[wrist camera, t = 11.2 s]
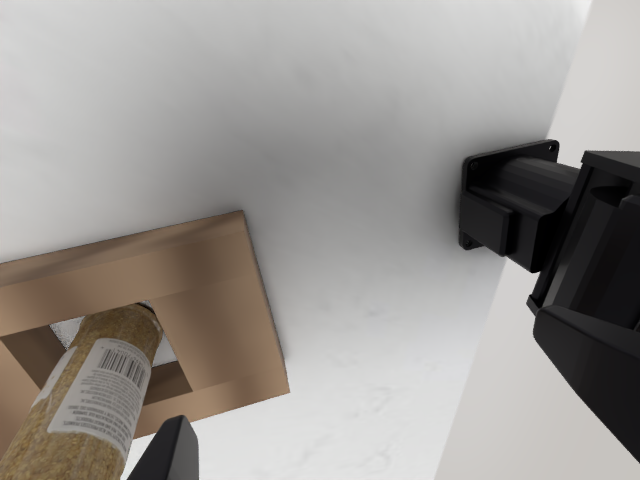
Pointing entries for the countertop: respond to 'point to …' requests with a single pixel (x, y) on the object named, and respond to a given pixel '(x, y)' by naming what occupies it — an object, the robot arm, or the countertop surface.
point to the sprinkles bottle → (89, 402)
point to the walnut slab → (170, 308)
